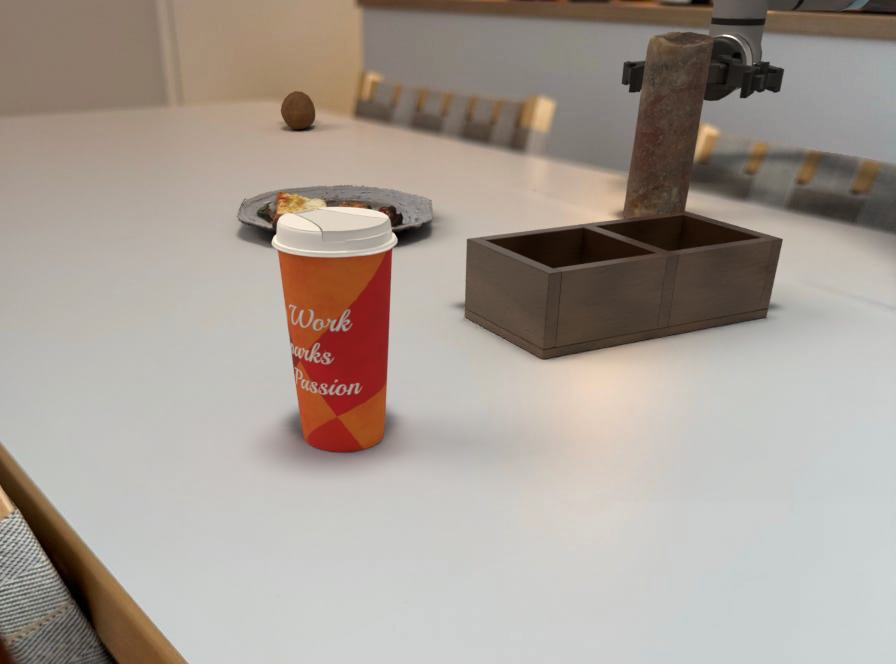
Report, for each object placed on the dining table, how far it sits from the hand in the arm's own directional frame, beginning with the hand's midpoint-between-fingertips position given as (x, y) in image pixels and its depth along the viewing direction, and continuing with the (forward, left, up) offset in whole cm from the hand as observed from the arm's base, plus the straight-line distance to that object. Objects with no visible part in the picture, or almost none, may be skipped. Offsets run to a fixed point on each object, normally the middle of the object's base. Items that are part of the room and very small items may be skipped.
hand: (687, 82), depth 117 cm
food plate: (+11, +42, -15) cm, 46 cm away
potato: (+91, +15, -15) cm, 94 cm away
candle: (-6, +7, -15) cm, 17 cm away
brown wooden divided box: (-34, +34, -14) cm, 50 cm away
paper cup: (-47, +67, -15) cm, 83 cm away
